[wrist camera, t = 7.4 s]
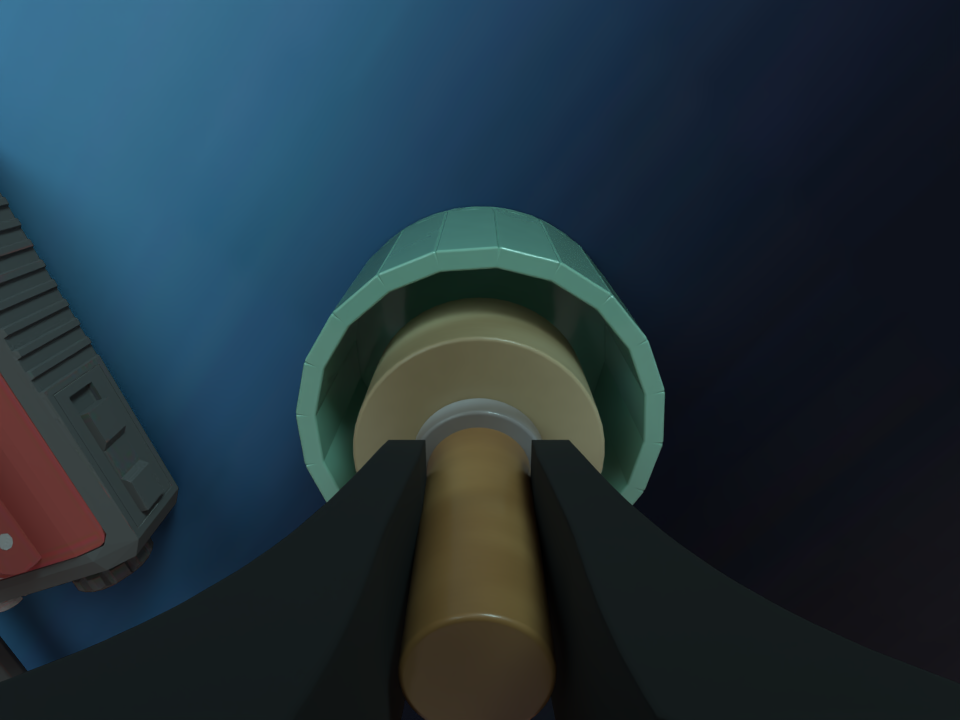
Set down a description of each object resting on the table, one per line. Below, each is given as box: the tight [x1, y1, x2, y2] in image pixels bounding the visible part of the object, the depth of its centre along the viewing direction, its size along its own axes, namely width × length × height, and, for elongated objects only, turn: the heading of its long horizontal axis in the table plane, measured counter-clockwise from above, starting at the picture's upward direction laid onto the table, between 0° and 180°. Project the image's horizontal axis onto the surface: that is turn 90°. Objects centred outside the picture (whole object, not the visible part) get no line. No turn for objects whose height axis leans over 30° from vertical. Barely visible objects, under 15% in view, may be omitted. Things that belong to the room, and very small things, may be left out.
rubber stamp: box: [353, 298, 605, 720], centre depth 11 cm, size 5×5×8 cm
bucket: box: [296, 207, 665, 505], centre depth 15 cm, size 7×7×5 cm
